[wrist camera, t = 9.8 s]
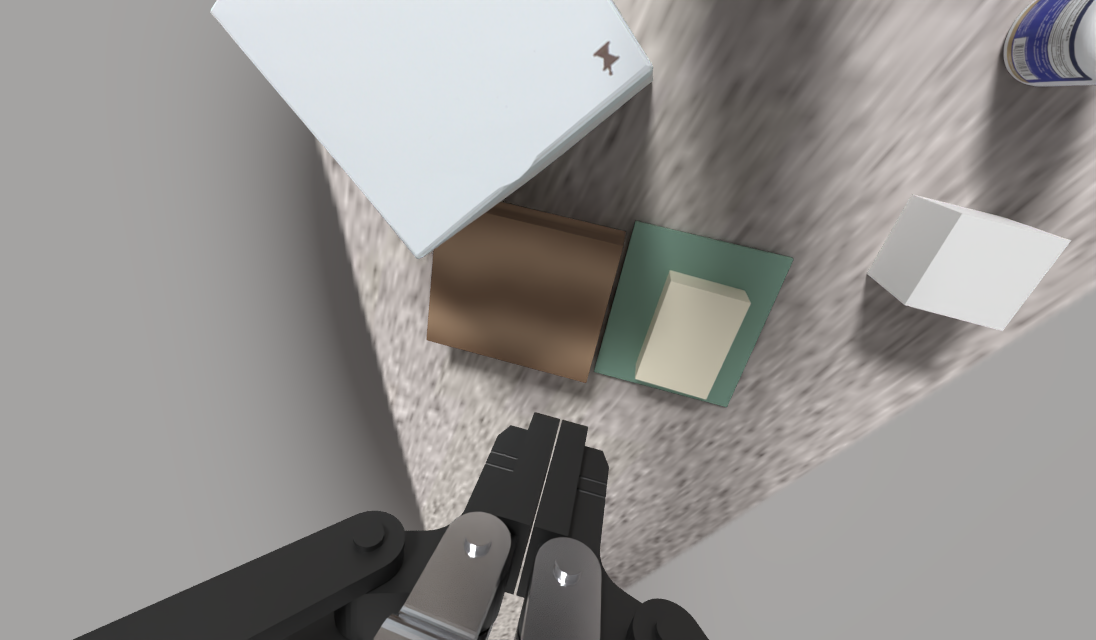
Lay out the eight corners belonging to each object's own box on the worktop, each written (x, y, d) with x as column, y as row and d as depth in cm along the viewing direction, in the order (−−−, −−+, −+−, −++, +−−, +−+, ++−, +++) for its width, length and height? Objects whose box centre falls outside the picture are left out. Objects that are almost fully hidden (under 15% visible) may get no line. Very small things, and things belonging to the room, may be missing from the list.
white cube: (910, 193, 32) (962, 212, 27) (1001, 215, 32) (1071, 239, 27) (865, 273, 35) (904, 305, 30) (948, 295, 35) (1002, 331, 29)
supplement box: (539, -107, 29) (416, -331, 14) (656, 80, 32) (662, 68, 17) (400, 47, 35) (198, 9, 19) (512, 195, 38) (416, 266, 22)
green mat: (635, 220, 37) (635, 221, 36) (792, 257, 36) (793, 259, 35) (594, 369, 43) (593, 371, 43) (726, 404, 42) (726, 407, 42)
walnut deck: (456, 191, 38) (437, 201, 35) (626, 231, 37) (623, 246, 34) (444, 320, 44) (426, 340, 40) (591, 358, 43) (586, 383, 39)
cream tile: (750, 303, 35) (744, 290, 37) (670, 281, 35) (669, 269, 37) (706, 399, 39) (703, 383, 41) (634, 378, 39) (635, 363, 42)
